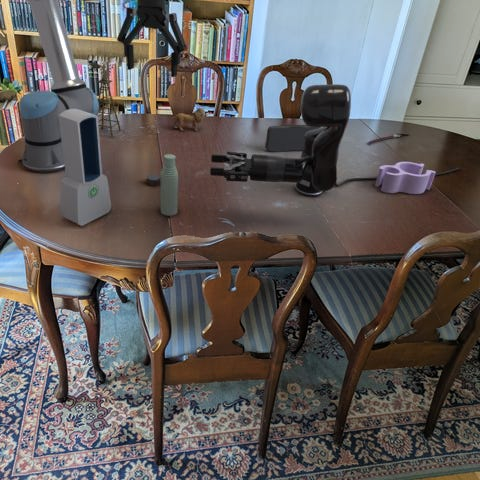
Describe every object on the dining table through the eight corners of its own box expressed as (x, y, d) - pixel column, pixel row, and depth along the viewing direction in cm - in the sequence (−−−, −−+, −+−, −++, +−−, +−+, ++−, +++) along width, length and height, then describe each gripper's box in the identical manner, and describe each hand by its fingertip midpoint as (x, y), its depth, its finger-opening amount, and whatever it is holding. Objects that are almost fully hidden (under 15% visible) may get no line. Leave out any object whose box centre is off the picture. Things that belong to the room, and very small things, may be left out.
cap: (154, 187, 153) (154, 180, 151) (144, 183, 154) (143, 177, 153) (162, 182, 156) (162, 176, 154) (152, 179, 157) (152, 172, 156)
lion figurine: (202, 126, 204) (203, 106, 200) (205, 130, 200) (206, 110, 196) (169, 127, 200) (169, 106, 195) (172, 132, 195) (172, 110, 191)
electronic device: (79, 228, 128) (67, 121, 112) (60, 218, 131) (46, 113, 115) (112, 211, 137) (105, 110, 121) (94, 202, 140) (85, 103, 124)
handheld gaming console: (315, 147, 196) (319, 124, 190) (317, 149, 194) (322, 126, 188) (264, 149, 189) (267, 125, 183) (266, 152, 187) (269, 127, 181)
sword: (406, 132, 223) (406, 130, 222) (411, 134, 221) (412, 132, 220) (362, 144, 207) (363, 141, 206) (368, 146, 205) (368, 143, 204)
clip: (387, 196, 162) (393, 178, 159) (368, 180, 172) (373, 163, 168) (434, 192, 169) (440, 175, 165) (413, 177, 178) (419, 160, 175)
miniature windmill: (112, 137, 184) (107, 58, 168) (92, 134, 185) (85, 54, 169) (121, 130, 192) (117, 53, 176) (102, 127, 193) (96, 50, 177)
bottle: (167, 217, 137) (167, 161, 128) (157, 210, 140) (157, 155, 130) (180, 212, 140) (182, 157, 131) (170, 205, 143) (171, 151, 134)
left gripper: (101, -15, 123) (106, 68, 135) (190, -3, 119) (187, 82, 130) (115, -17, 129) (119, 63, 141) (200, -5, 125) (197, 76, 136)
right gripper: (267, 146, 137) (212, 142, 136) (270, 167, 126) (210, 163, 125) (264, 169, 142) (210, 165, 141) (267, 192, 130) (209, 188, 129)
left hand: (152, 72), depth 136 cm, fingers open, 13 cm apart
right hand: (210, 164), depth 133 cm, fingers open, 8 cm apart
